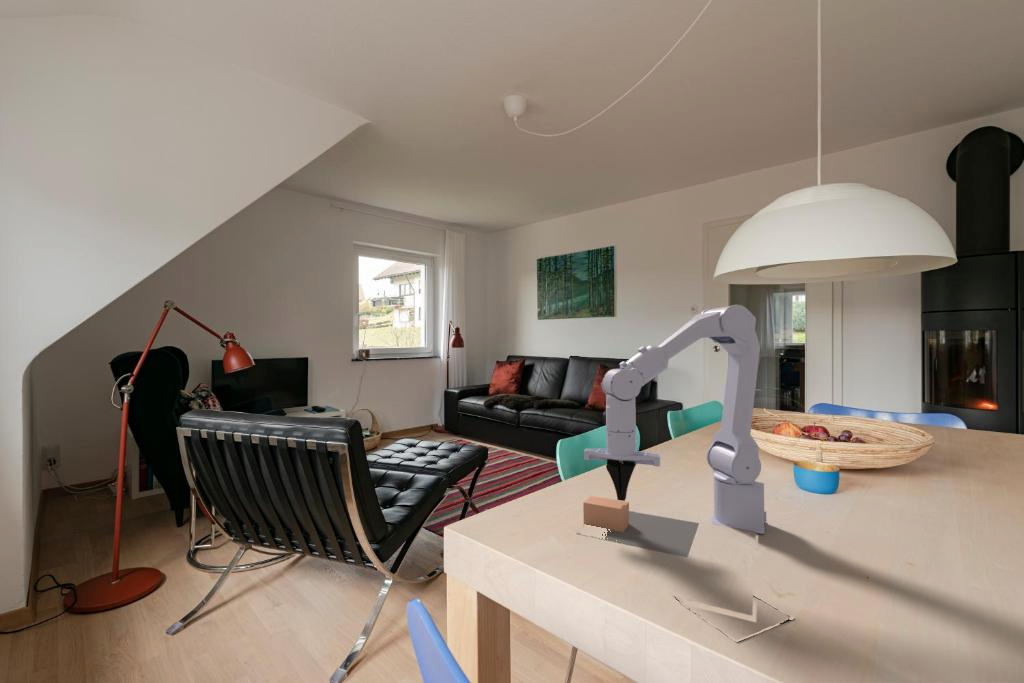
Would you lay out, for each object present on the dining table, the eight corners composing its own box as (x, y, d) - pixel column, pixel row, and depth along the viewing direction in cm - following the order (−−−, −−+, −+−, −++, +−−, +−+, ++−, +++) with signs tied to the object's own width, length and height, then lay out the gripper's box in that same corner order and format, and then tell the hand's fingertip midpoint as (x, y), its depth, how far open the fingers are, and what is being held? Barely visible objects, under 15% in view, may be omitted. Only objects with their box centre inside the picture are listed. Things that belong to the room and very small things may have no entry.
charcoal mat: (698, 526, 90) (698, 523, 90) (686, 560, 76) (686, 557, 76) (602, 509, 100) (602, 506, 100) (575, 536, 86) (575, 533, 86)
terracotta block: (628, 502, 90) (590, 495, 94) (622, 509, 87) (583, 502, 90) (629, 523, 90) (591, 516, 94) (623, 532, 87) (583, 524, 90)
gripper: (661, 428, 90) (662, 496, 90) (589, 424, 95) (590, 488, 95) (658, 435, 83) (659, 509, 83) (581, 430, 89) (581, 499, 89)
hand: (621, 498), depth 89 cm, fingers closed
